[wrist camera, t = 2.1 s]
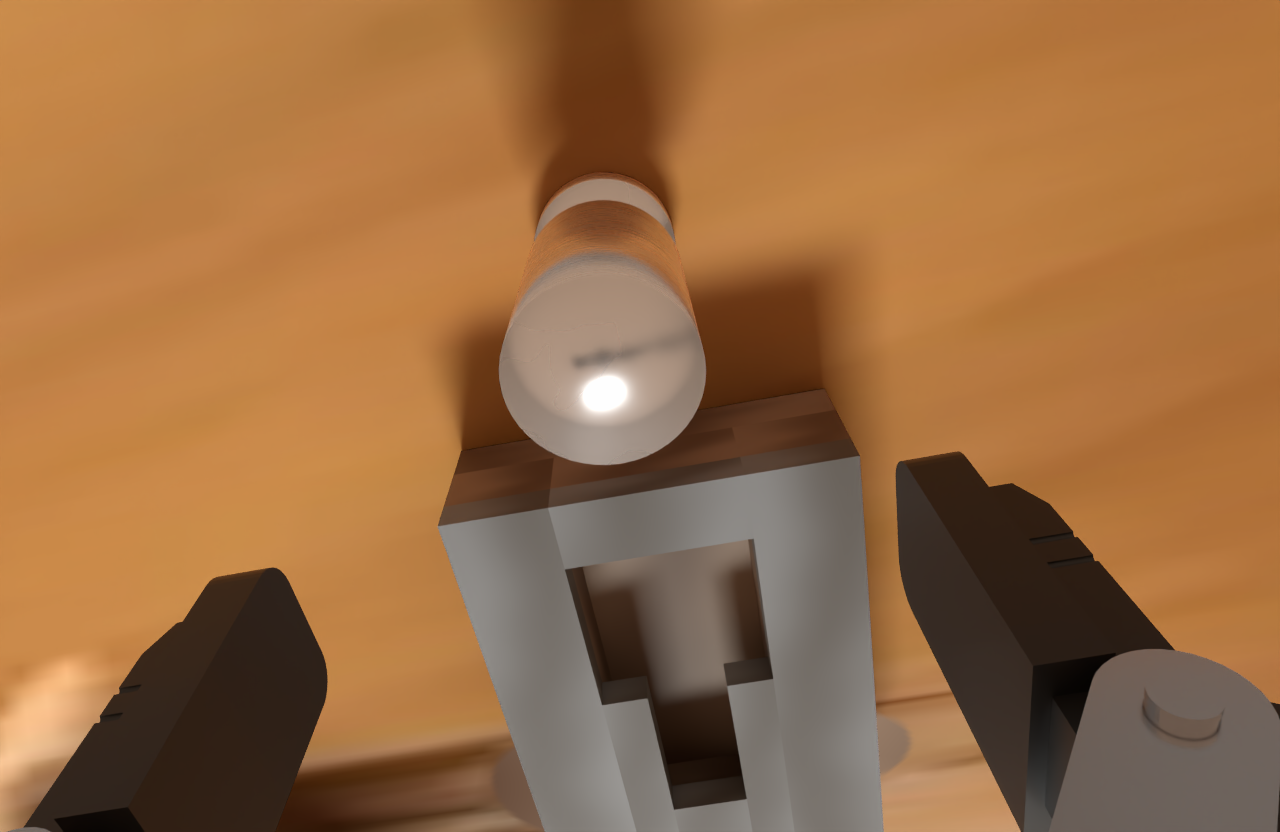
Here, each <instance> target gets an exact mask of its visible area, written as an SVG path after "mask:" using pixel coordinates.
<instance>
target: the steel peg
mask: <svg viewBox="0 0 1280 832" xmlns="http://www.w3.org/2000/svg"><path fill="white" fill-rule="evenodd" d="M499 381H500V386H501V391H502V395H503V398H504V401H505V403H506V406H507V408H508V410H509V412H510V414H511V415H512V417H513V418H514V420H515V421H516V423H517V424H518V426H519V427H520V428H521V429H522V430H523V431H524V432H525V433H526V434H527V436H529V437H530V438H531V439H532V440H533V441H535V442H536V443H537V444H538V445H540V446H541V447H543V448H545V449H546V450H548V451H550V452H552V453H554V454H556V455H558V456H560V457H563V458H566V459H568V460H571V461H575V462H580V463H584V464H593V465H613V464H622V463H626V462H631V461H635V460H638V459H641V458H643V457H646V456H648V455H650V454H652V453H654V452H656V451H658V450H660V449H661V448H663V447H664V446H666V445H668V444H669V443H670V442H671V441H672V440H674V439H675V438H676V437H677V436H678V435H679V434H680V433H681V432H682V431H683V430H684V429H685V428H686V426H687V425H688V424H689V422H690V421H691V419H692V418H693V416H694V414H695V412H696V411H697V409H698V407H699V404H700V401H701V399H702V396H703V392H704V387H705V381H706V362H705V355H704V351H703V346H702V342H701V338H700V335H699V331H698V327H697V323H696V319H695V315H694V311H693V307H692V303H691V299H690V295H689V291H688V287H687V283H686V280H685V276H684V272H683V268H682V264H681V260H680V256H679V253H678V250H677V248H676V245H675V237H674V233H673V228H672V224H671V221H670V218H669V215H668V213H667V211H666V209H665V207H664V205H663V204H662V202H661V201H660V199H659V198H658V197H657V196H656V195H655V194H654V193H653V191H652V190H650V189H649V188H648V187H647V186H645V185H644V184H642V183H641V182H639V181H638V180H636V179H633V178H631V177H629V176H626V175H622V174H618V173H612V172H597V173H590V174H586V175H583V176H580V177H578V178H575V179H573V180H571V181H570V182H568V183H566V184H565V185H564V186H562V187H561V188H560V189H558V191H557V192H556V193H555V194H554V195H553V196H552V197H551V198H550V200H549V201H548V202H547V204H546V206H545V208H544V209H543V211H542V214H541V217H540V219H539V223H538V226H537V230H536V234H535V240H534V243H533V245H532V248H531V251H530V253H529V257H528V260H527V263H526V267H525V270H524V274H523V277H522V280H521V284H520V287H519V291H518V294H517V297H516V301H515V304H514V308H513V311H512V314H511V318H510V321H509V325H508V328H507V331H506V335H505V338H504V342H503V345H502V350H501V354H500V360H499Z"/></svg>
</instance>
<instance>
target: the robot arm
mask: <svg viewBox="0 0 1280 832" xmlns="http://www.w3.org/2000/svg"><path fill="white" fill-rule="evenodd" d="M896 498H897V522H898V546H899V564H900V571H901V577H902V582H903V586H904V589H905V593H906V596H907V599H908V602H909V605H910V607H911V609H912V612H913V614H914V616H915V618H916V620H917V622H918V624H919V626H920V628H921V630H922V632H923V634H924V636H925V638H926V640H927V642H928V644H929V646H930V648H931V650H932V652H933V654H934V656H935V658H936V660H937V662H938V664H939V666H940V668H941V670H942V672H943V674H944V676H945V678H946V680H947V682H948V684H949V686H950V688H951V690H952V692H953V694H954V697H955V699H956V701H957V703H958V705H959V707H960V709H961V711H962V713H963V715H964V717H965V719H966V721H967V723H968V725H969V727H970V729H971V731H972V733H973V735H974V737H975V739H976V741H977V743H978V745H979V747H980V749H981V751H982V753H983V755H984V757H985V759H986V761H987V763H988V765H989V767H990V769H991V771H992V773H993V775H994V777H995V779H996V782H997V784H998V786H999V788H1000V790H1001V792H1002V794H1003V796H1004V798H1005V800H1006V802H1007V804H1008V806H1009V808H1010V810H1011V812H1012V814H1013V816H1014V818H1015V820H1016V822H1017V824H1018V826H1019V828H1020V830H1021V832H1280V704H1276V703H1271V702H1270V701H1269V700H1268V699H1267V698H1266V697H1265V695H1264V694H1263V693H1262V692H1261V691H1260V690H1259V689H1258V688H1257V687H1255V686H1254V685H1253V684H1252V683H1251V682H1250V681H1248V680H1247V679H1245V678H1244V677H1242V676H1241V675H1239V674H1238V673H1236V672H1234V671H1233V670H1231V669H1229V668H1227V667H1225V666H1223V665H1221V664H1219V663H1216V662H1214V661H1212V660H1209V659H1207V658H1203V657H1200V656H1197V655H1194V654H1190V653H1185V652H1180V651H1175V650H1174V649H1173V647H1172V646H1171V645H1170V644H1169V643H1168V642H1167V640H1166V639H1165V638H1164V637H1163V636H1162V635H1161V633H1160V632H1159V631H1158V630H1157V629H1156V628H1155V626H1154V625H1153V624H1152V623H1151V622H1150V621H1149V619H1148V618H1147V617H1146V616H1145V615H1144V614H1143V612H1142V611H1141V610H1140V609H1139V608H1138V607H1137V605H1136V604H1135V603H1134V602H1133V601H1132V600H1131V598H1130V597H1129V596H1128V595H1127V594H1126V593H1125V591H1124V590H1123V589H1122V588H1121V587H1120V586H1119V584H1118V583H1117V582H1116V581H1115V580H1114V579H1113V577H1112V576H1111V575H1110V574H1109V573H1108V572H1107V570H1106V569H1105V568H1104V567H1103V566H1102V565H1101V563H1100V562H1099V561H1094V558H1093V554H1092V553H1091V552H1090V551H1089V550H1088V548H1087V547H1086V546H1085V545H1084V544H1083V543H1082V541H1081V540H1080V539H1079V538H1078V537H1076V538H1075V537H1074V535H1073V531H1072V530H1071V529H1070V527H1069V526H1068V525H1067V524H1066V523H1065V522H1064V520H1063V519H1062V518H1061V517H1060V516H1059V515H1058V513H1057V512H1056V511H1055V510H1054V509H1053V508H1052V506H1051V505H1050V504H1049V503H1047V502H1045V501H1043V500H1041V499H1040V498H1038V497H1036V496H1034V495H1032V494H1031V493H1029V492H1027V491H1025V490H1023V489H1022V488H1020V487H1018V486H1016V485H1014V484H1012V483H1010V484H1004V485H998V486H992V487H988V485H987V484H986V483H985V481H984V480H983V479H982V477H981V476H980V475H979V474H978V472H977V471H976V470H975V468H974V467H973V466H972V464H971V463H970V462H969V460H968V459H967V458H966V457H965V456H964V454H962V453H961V452H952V453H946V454H940V455H934V456H929V457H923V458H917V459H911V460H905V461H900V462H899V463H898V464H897V468H896ZM119 690H120V693H119V694H117V695H114V696H113V698H112V699H111V700H110V702H109V703H108V705H107V706H106V708H105V709H104V711H103V712H102V714H101V715H100V723H95V724H94V725H93V727H92V728H91V730H90V731H89V733H88V734H87V736H86V737H85V738H84V740H83V741H82V743H81V744H80V746H79V747H78V749H77V750H76V752H75V753H74V755H73V756H72V757H71V759H70V760H69V762H68V763H67V765H66V766H65V768H64V769H63V771H62V772H61V774H60V775H59V776H58V778H57V779H56V781H55V782H54V784H53V785H52V787H51V788H50V790H49V791H48V793H47V794H46V795H45V797H44V798H43V800H42V801H41V803H40V804H39V806H38V807H37V809H36V810H35V812H34V813H33V814H32V816H31V817H30V819H29V820H28V822H27V823H26V825H25V826H24V828H20V829H15V830H11V831H8V832H275V830H276V828H277V825H278V823H279V820H280V817H281V815H282V812H283V810H284V807H285V804H286V802H287V799H288V797H289V794H290V791H291V789H292V786H293V784H294V781H295V778H296V776H297V773H298V771H299V768H300V765H301V763H302V760H303V758H304V755H305V752H306V750H307V747H308V745H309V742H310V739H311V737H312V734H313V732H314V729H315V726H316V724H317V721H318V719H319V716H320V713H321V711H322V708H323V706H324V703H325V699H326V694H327V669H326V664H325V660H324V656H323V654H322V651H321V649H320V647H319V645H318V643H317V641H316V639H315V636H314V634H313V632H312V630H311V628H310V626H309V624H308V622H307V619H306V617H305V615H304V613H303V611H302V609H301V607H300V605H299V602H298V600H297V598H296V596H295V594H294V592H293V590H292V588H291V585H290V583H289V581H288V579H287V578H286V576H285V575H284V574H283V573H282V572H281V571H280V570H279V569H277V568H267V569H261V570H255V571H249V572H243V573H237V574H232V575H226V576H220V577H216V578H214V579H212V580H211V581H210V582H209V583H208V584H207V586H206V587H205V589H204V590H203V592H202V593H201V595H200V596H199V598H198V599H197V601H196V602H195V604H194V605H193V607H192V608H191V610H190V611H189V613H188V614H187V616H186V618H185V619H184V621H183V622H179V623H177V624H175V625H174V626H173V627H172V628H171V629H170V630H169V631H168V632H167V633H165V634H164V635H163V636H162V637H161V638H160V639H159V640H158V641H156V642H155V643H154V644H153V645H152V646H151V647H150V648H149V649H147V650H146V651H145V652H144V653H143V654H142V655H141V657H140V658H139V659H138V661H137V662H136V664H135V665H134V667H133V668H132V670H131V671H130V673H129V674H128V676H127V677H126V679H125V680H124V681H123V683H122V684H121V686H120V687H119Z"/></svg>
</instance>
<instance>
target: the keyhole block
mask: <svg viewBox="0 0 1280 832" xmlns="http://www.w3.org/2000/svg"><path fill="white" fill-rule="evenodd" d="M438 529H439V532H440V535H441V537H442V540H443V543H444V546H445V549H446V552H447V554H448V557H449V560H450V563H451V566H452V569H453V572H454V574H455V577H456V580H457V583H458V586H459V589H460V591H461V594H462V597H463V600H464V603H465V606H466V609H467V611H468V614H469V617H470V620H471V623H472V626H473V628H474V631H475V634H476V637H477V640H478V643H479V646H480V648H481V651H482V654H483V657H484V660H485V663H486V665H487V668H488V671H489V674H490V677H491V680H492V683H493V685H494V688H495V691H496V694H497V697H498V700H499V702H500V705H501V708H502V711H503V714H504V717H505V720H506V722H507V725H508V728H509V731H510V734H511V737H512V739H513V742H514V745H515V748H516V751H517V754H518V757H519V759H520V762H521V765H522V768H523V771H524V774H525V776H526V779H527V782H528V785H529V788H530V790H531V793H532V796H533V799H534V802H535V805H536V808H537V811H538V813H539V816H540V819H541V822H542V825H543V828H544V831H545V832H884V830H883V814H882V798H881V782H880V767H879V751H878V735H877V719H876V704H875V688H874V672H873V656H872V641H871V625H870V609H869V593H868V578H867V562H866V546H865V530H864V515H863V499H862V483H861V467H860V455H859V453H858V452H857V450H856V448H855V446H854V444H853V442H852V440H851V438H850V436H849V434H848V433H847V431H846V429H845V427H844V425H843V423H842V421H841V419H840V417H839V415H838V414H837V412H836V410H835V408H834V406H833V404H832V402H831V400H830V398H829V396H828V395H827V393H826V391H825V389H819V390H814V391H808V392H802V393H796V394H790V395H785V396H779V397H773V398H767V399H761V400H755V401H750V402H744V403H738V404H732V405H726V406H721V407H715V408H709V409H703V410H697V411H696V412H695V414H694V416H693V418H692V419H691V421H690V422H689V424H688V425H687V426H686V428H685V429H684V430H683V431H682V432H681V433H680V434H679V435H678V436H677V437H676V438H675V439H674V440H672V441H671V442H670V443H669V444H668V445H666V446H664V447H663V448H661V449H660V450H658V451H656V452H654V453H652V454H650V455H648V456H646V457H643V458H641V459H638V460H635V461H631V462H626V463H622V464H613V465H593V464H584V463H580V462H575V461H571V460H568V459H566V458H563V457H560V456H558V455H556V454H554V453H552V452H550V451H548V450H546V449H545V448H543V447H541V446H540V445H538V444H537V443H536V442H535V441H533V440H532V439H528V440H523V441H517V442H511V443H505V444H499V445H493V446H488V447H482V448H476V449H470V450H464V451H461V454H460V457H459V460H458V463H457V467H456V470H455V473H454V476H453V479H452V482H451V486H450V489H449V492H448V495H447V498H446V501H445V505H444V508H443V511H442V514H441V517H440V521H439V524H438Z"/></svg>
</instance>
